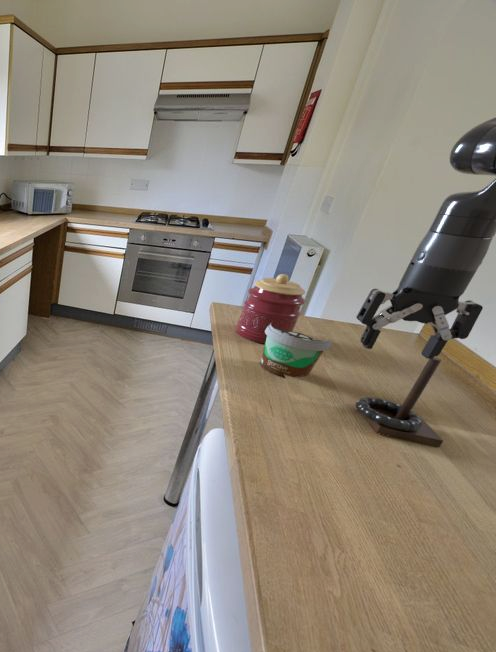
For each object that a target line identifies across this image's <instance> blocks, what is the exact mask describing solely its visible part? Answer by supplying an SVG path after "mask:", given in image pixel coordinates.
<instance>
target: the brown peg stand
mask: <svg viewBox="0 0 496 652" xmlns="http://www.w3.org/2000/svg"><path fill="white" fill-rule="evenodd" d="M441 362H442V359H441V358H439V357H436V356H434V358H433V359H429V358H428V361H427V362H426V364H425V365H424V367H423V369H422V371H421V372H420V374H419V376H418V377H417V378H416V381H414V382H415V383H414V384H413V385H412V387H411V389H410V391H409V392H408V394H407V396H406V397H405V399H404V401H403V402H402V404H401V405H402V406H401V408H400V409H399V411H398V413H394V412H391V411H389V410H386V409H383V408H378V407H370V408H372V409H373V410H375V411H377V412H378V413H381V414H383V415H386V416H388V417H391V418H395V419H399V420H406V418H407V416H408V415H409V413H410V412H411V410H412V411H413V408H414V407H415V405H416V403H417V402H418V400H419V399H420V397H421V395H422V394H423V391H424V390H425V388H426V387H427V385H428V384H429V382H430V380H431V378H432V377H433V376H434V374H435V372H436V370H437V369H438V367H439V366H440V364H441ZM415 413H416V414H417V415H418V416H419V417H420V418H421V419H422V421H423V424H422V426H421V427H420V429H418V430H411V431H403V430H398V429H394V428H389V427H386V426H384V425H381V424H379V423H376V422H374V421H372V420H370V419H369V418H367V417H365V416H364V415H362V416H363V417H364V419H365V420H366V421H367V424H369V426H370V427H371V428H372V430H373V431H374V430H375V431H374V433H376V434H377V433H380V434H379V435H382V434H384V435H383V436H386V435H389V436H388V437H391V436H393V437H392V438H395V437H396V439H400V440H404V439H405V441H408V440H409V441H408V442H413V441H414V443H417V442H418V444H423V445H427V446H431V447H435V448H440V447H441V445H442V444H443V442H444V440H443V439H442V437H440V435H439V434H437V432H436V431H435V430H434V429H433V428H432V427H431V426H430V425H429V424H428V423H427V422H426V421H425V420H424V419H423V418H422V416H421V415H419V414H418V413H417V412H415Z"/></svg>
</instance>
